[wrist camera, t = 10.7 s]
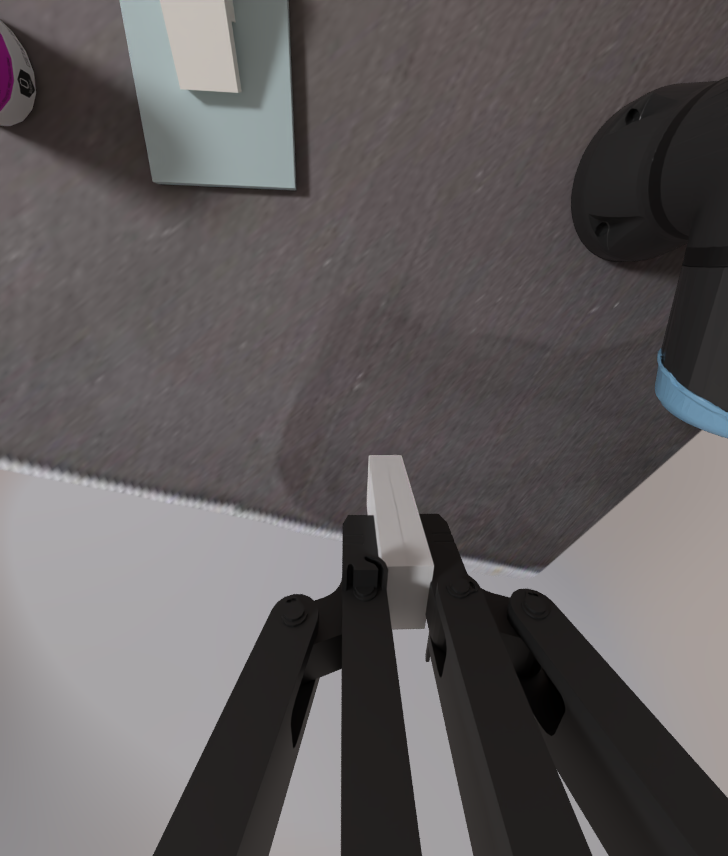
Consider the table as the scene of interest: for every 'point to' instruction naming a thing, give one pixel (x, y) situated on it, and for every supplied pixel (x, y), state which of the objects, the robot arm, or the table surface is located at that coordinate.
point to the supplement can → (14, 79)
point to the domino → (202, 44)
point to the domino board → (217, 103)
